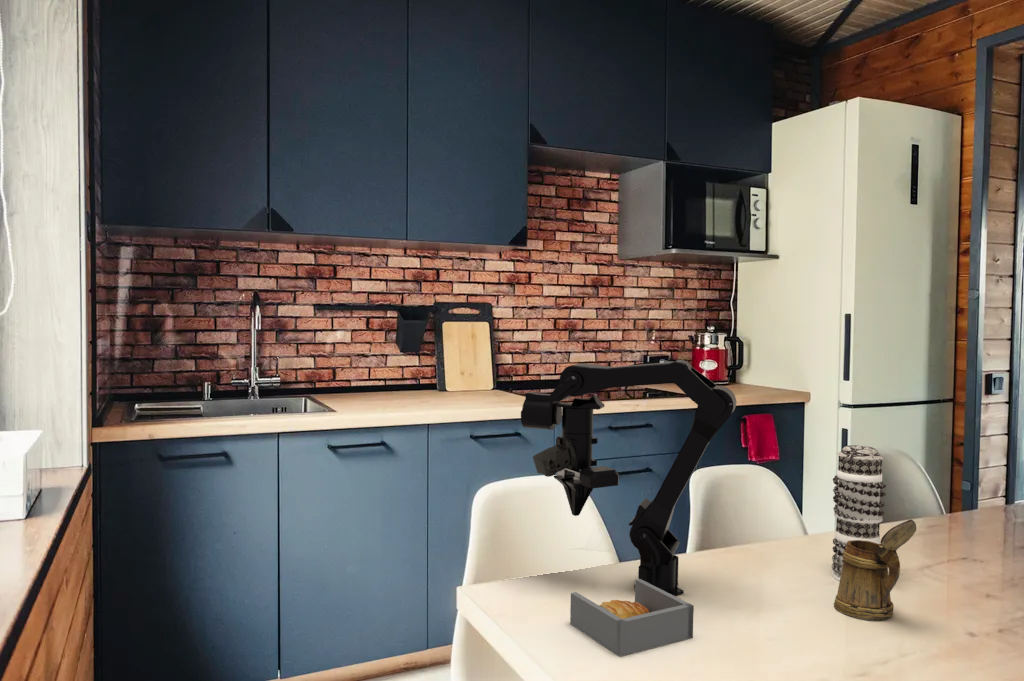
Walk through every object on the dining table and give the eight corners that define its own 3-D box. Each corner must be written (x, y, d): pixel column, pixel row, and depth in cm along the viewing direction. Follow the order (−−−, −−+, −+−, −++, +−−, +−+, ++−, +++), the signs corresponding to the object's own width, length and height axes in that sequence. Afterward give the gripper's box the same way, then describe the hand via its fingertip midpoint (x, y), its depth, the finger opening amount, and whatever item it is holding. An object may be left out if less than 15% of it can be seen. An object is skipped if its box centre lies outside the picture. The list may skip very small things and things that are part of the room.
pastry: (630, 610, 128) (631, 588, 128) (660, 625, 123) (661, 601, 123) (588, 623, 123) (589, 600, 123) (617, 638, 118) (617, 614, 117)
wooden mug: (885, 635, 120) (890, 522, 119) (822, 603, 132) (826, 500, 131) (928, 628, 123) (932, 517, 122) (862, 597, 135) (866, 497, 134)
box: (639, 607, 129) (639, 578, 129) (692, 637, 118) (693, 605, 118) (570, 623, 122) (570, 592, 122) (619, 656, 111) (620, 622, 111)
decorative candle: (834, 584, 142) (838, 450, 141) (825, 567, 151) (830, 442, 150) (887, 589, 140) (892, 453, 138) (876, 572, 149) (880, 444, 147)
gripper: (514, 427, 145) (513, 508, 146) (568, 443, 129) (567, 534, 130) (563, 423, 151) (562, 501, 152) (621, 438, 135) (619, 526, 135)
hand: (575, 515), depth 142 cm, fingers closed
